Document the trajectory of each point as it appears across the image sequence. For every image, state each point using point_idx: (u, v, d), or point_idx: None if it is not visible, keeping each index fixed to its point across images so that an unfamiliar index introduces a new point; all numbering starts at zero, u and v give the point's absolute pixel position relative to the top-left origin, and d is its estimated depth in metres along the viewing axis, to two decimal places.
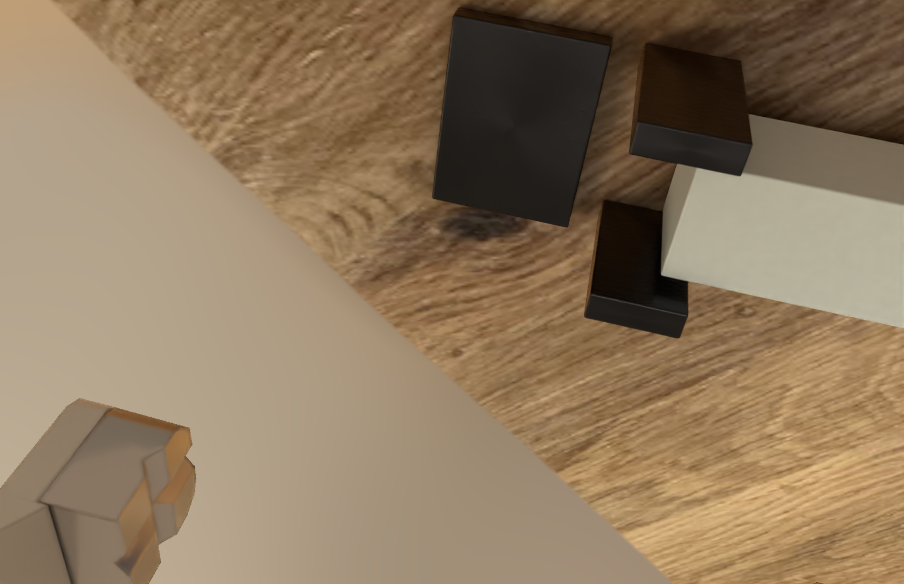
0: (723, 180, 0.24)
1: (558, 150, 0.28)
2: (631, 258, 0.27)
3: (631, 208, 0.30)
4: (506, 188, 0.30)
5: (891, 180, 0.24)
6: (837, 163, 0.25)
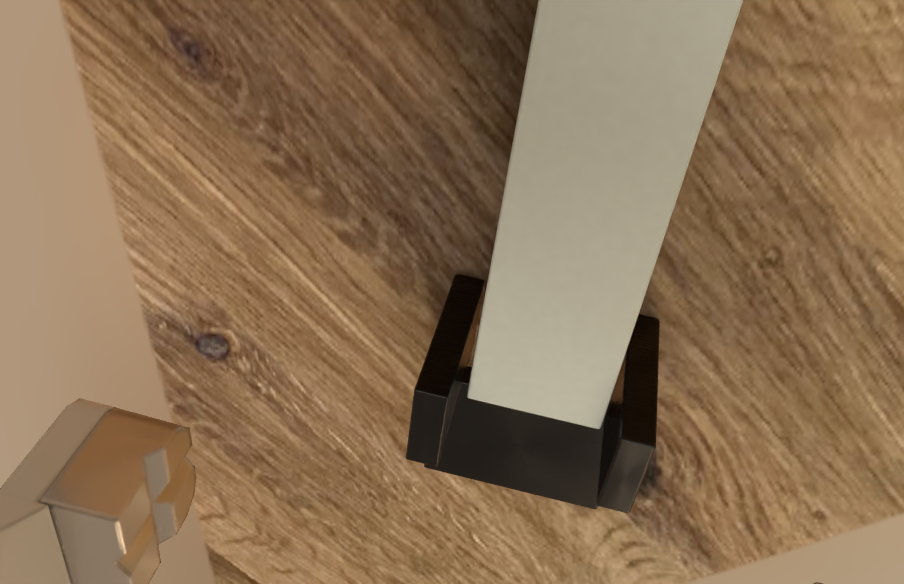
0: (482, 382, 0.24)
1: (540, 419, 0.30)
2: (609, 423, 0.26)
3: None
4: (582, 459, 0.31)
5: None
6: None
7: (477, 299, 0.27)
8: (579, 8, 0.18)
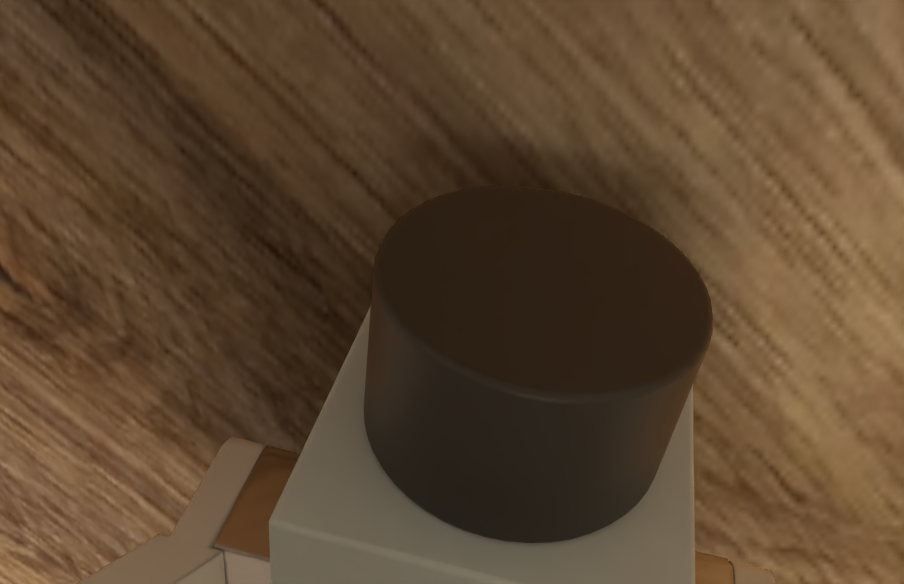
0: None
1: None
2: None
3: None
4: None
5: None
6: None
7: None
8: None
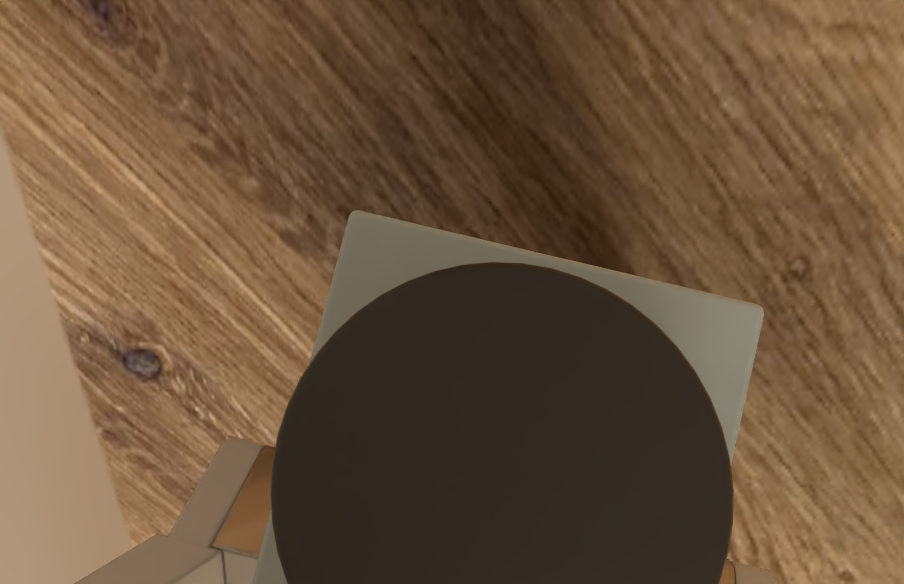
0: None
1: None
2: None
3: None
4: None
5: None
6: None
7: None
8: None
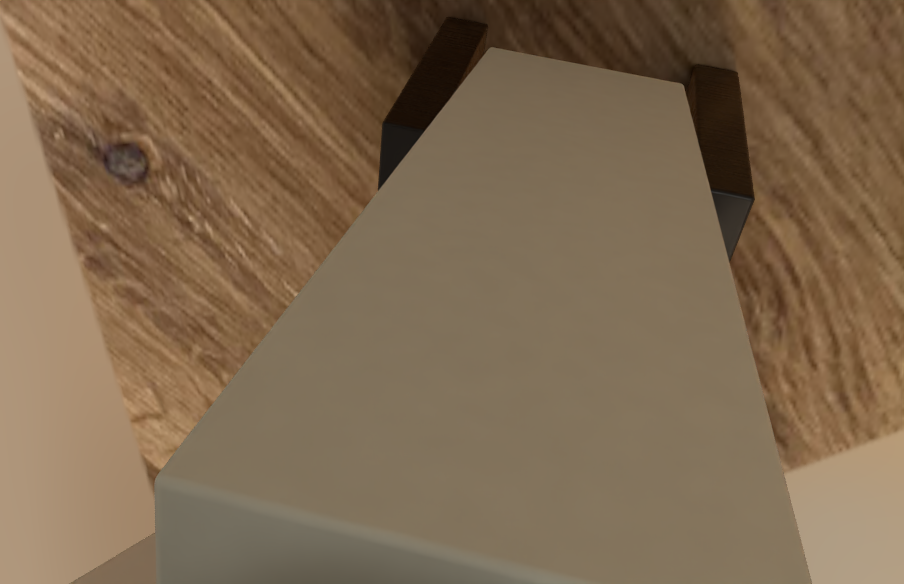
0: None
1: None
2: None
3: None
4: None
5: None
6: None
7: (478, 40, 0.19)
8: None
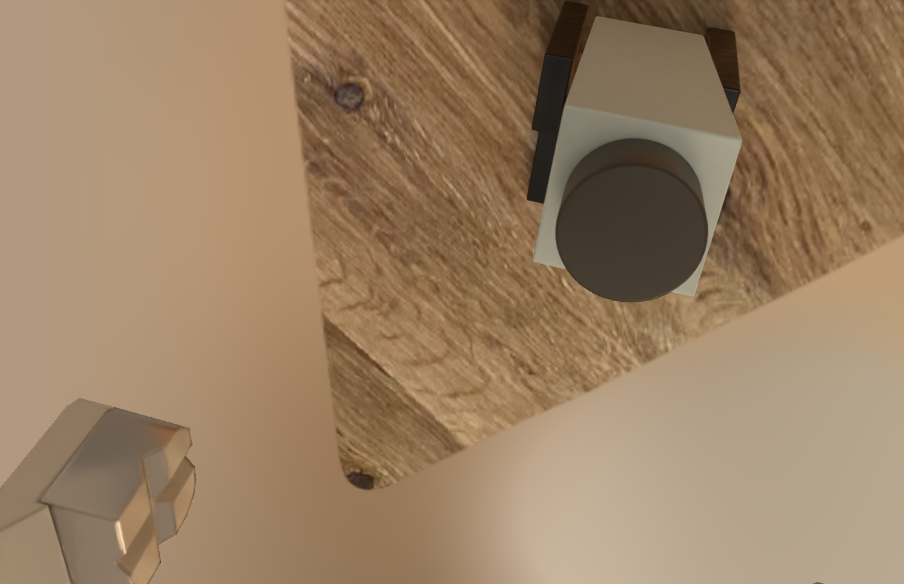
0: None
1: None
2: None
3: None
4: None
5: None
6: None
7: (585, 14, 0.33)
8: None
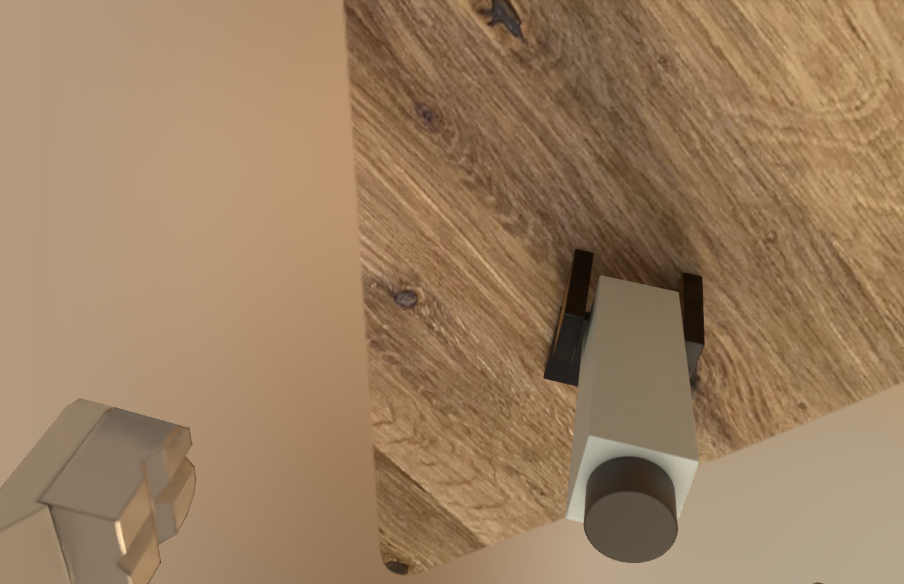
0: None
1: None
2: None
3: None
4: None
5: (583, 374, 0.39)
6: (586, 352, 0.40)
7: (591, 264, 0.44)
8: None
